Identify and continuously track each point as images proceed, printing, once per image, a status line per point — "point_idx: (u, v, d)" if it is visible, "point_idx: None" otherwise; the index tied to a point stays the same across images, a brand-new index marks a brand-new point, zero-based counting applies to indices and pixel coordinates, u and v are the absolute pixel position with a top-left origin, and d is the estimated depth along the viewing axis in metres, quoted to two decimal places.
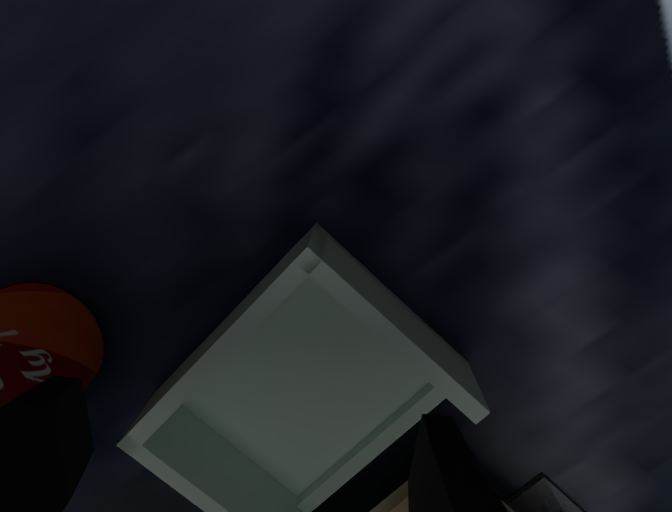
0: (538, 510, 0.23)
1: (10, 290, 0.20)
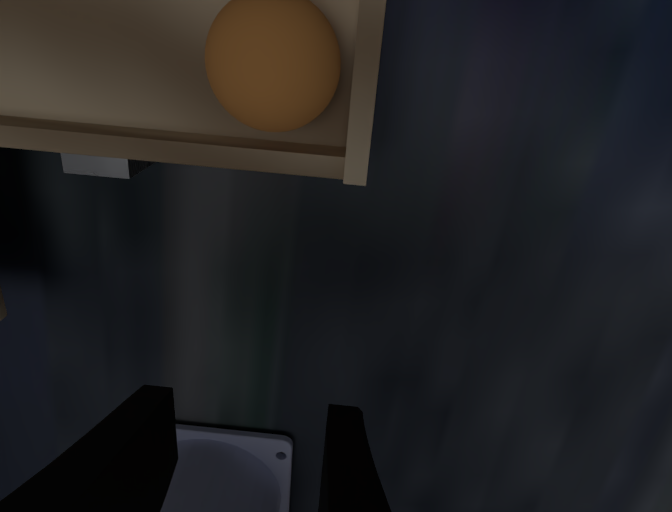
0: None
1: None
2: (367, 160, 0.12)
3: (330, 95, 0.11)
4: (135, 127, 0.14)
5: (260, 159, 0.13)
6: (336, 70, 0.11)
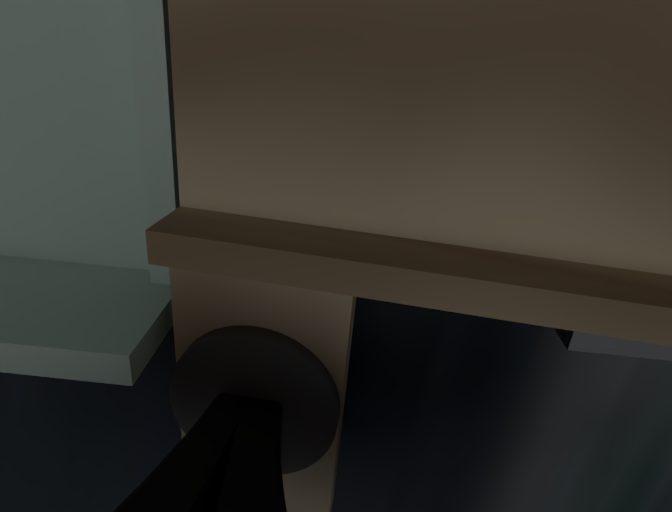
0: None
1: None
2: None
3: None
4: None
5: None
6: None
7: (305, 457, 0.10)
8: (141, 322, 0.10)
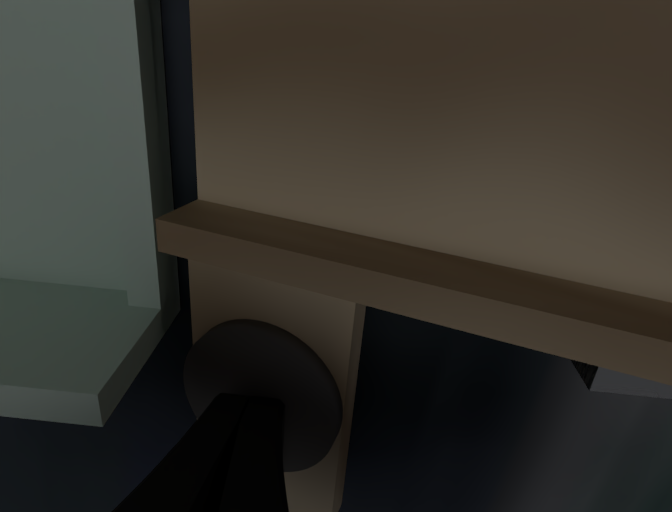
0: None
1: None
2: None
3: None
4: None
5: None
6: None
7: (305, 458, 0.10)
8: (114, 353, 0.09)
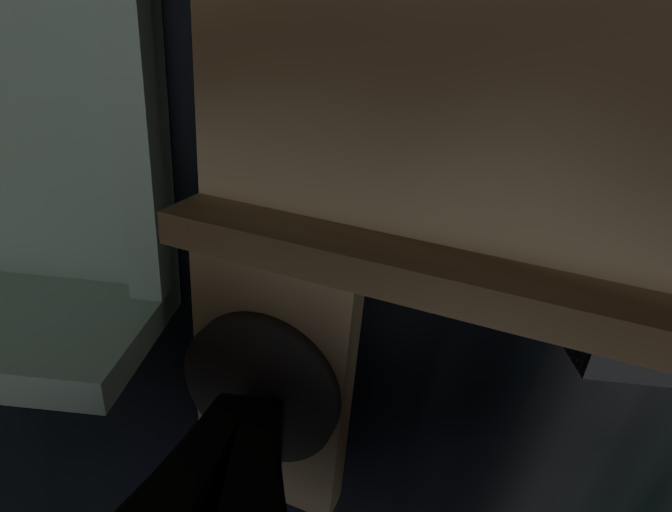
0: None
1: None
2: None
3: None
4: None
5: None
6: None
7: (305, 448, 0.10)
8: (117, 343, 0.09)
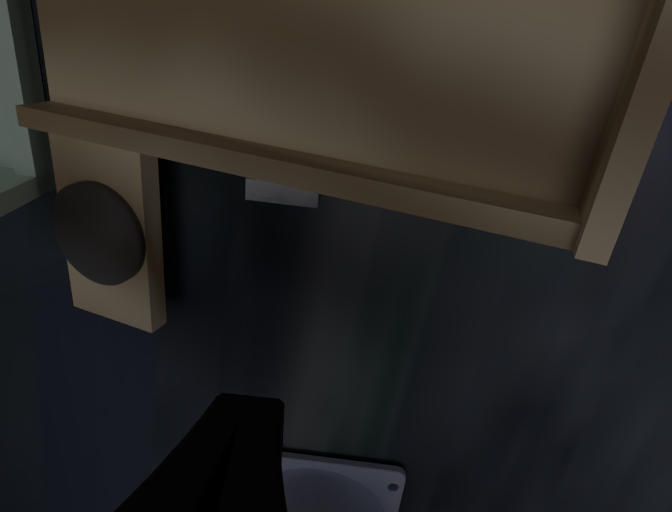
0: None
1: None
2: (617, 233, 0.09)
3: None
4: (324, 156, 0.13)
5: (467, 212, 0.11)
6: None
7: (125, 272, 0.16)
8: None
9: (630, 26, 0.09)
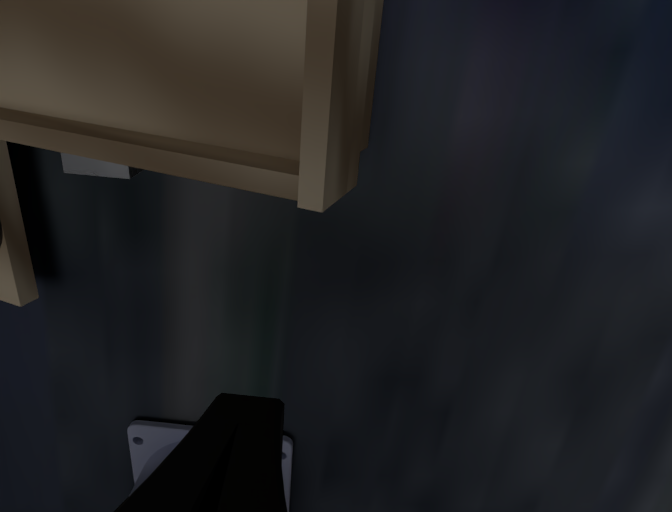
0: None
1: None
2: (323, 182, 0.10)
3: None
4: (123, 129, 0.14)
5: (219, 171, 0.12)
6: None
7: None
8: None
9: None
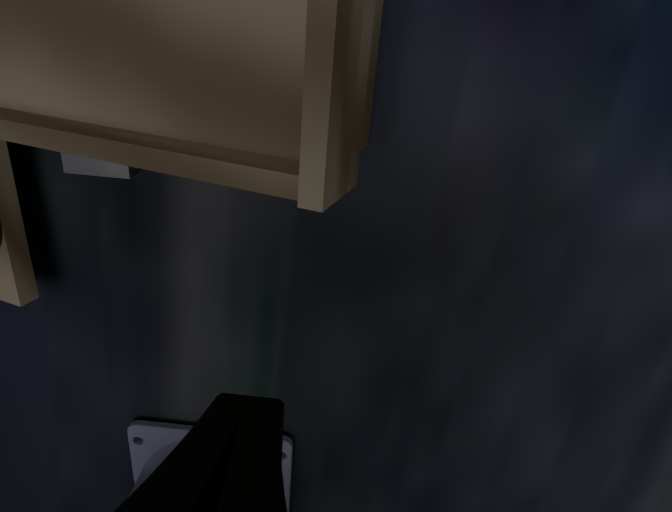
0: None
1: None
2: (323, 182, 0.10)
3: None
4: (123, 129, 0.14)
5: (219, 171, 0.12)
6: None
7: None
8: None
9: None
